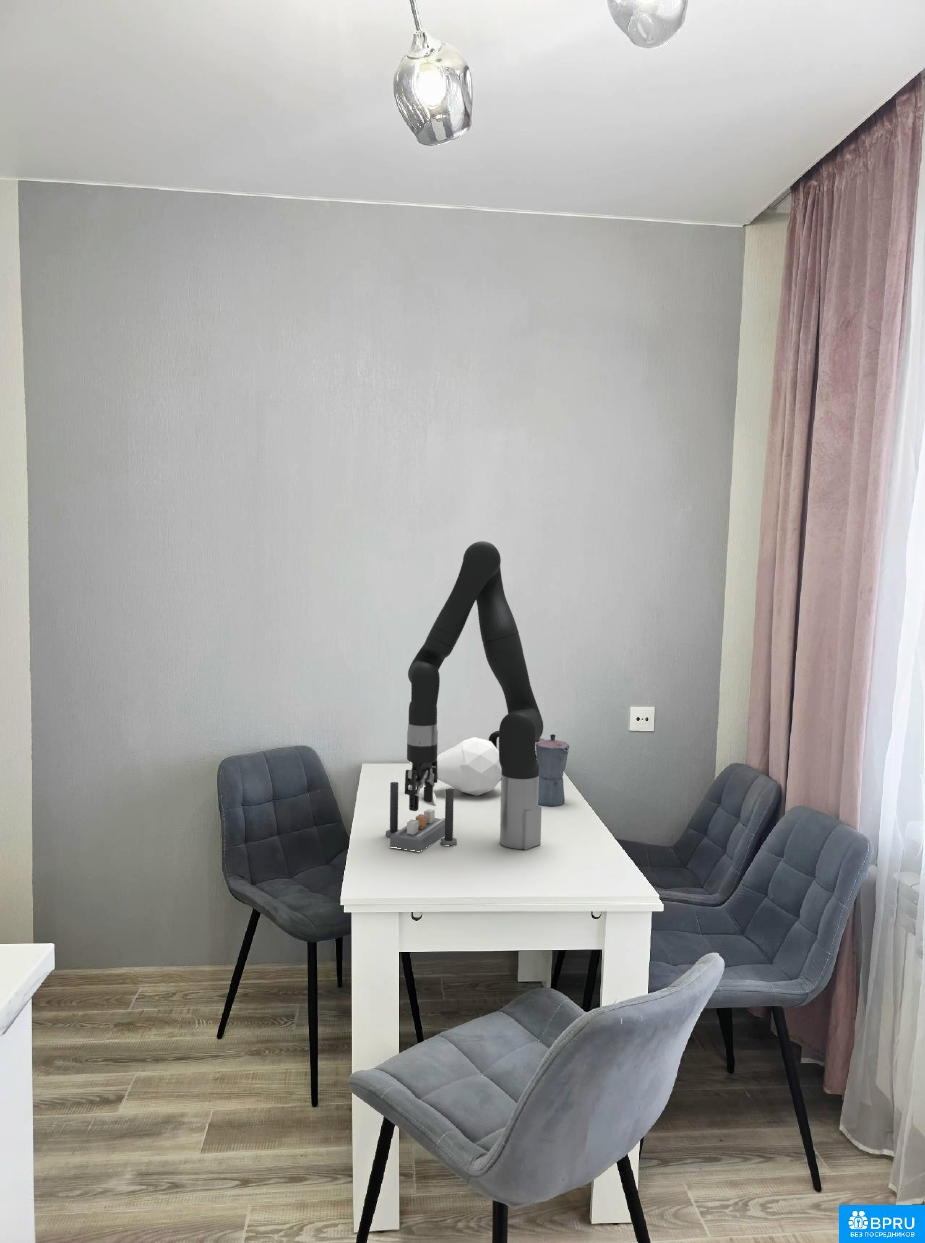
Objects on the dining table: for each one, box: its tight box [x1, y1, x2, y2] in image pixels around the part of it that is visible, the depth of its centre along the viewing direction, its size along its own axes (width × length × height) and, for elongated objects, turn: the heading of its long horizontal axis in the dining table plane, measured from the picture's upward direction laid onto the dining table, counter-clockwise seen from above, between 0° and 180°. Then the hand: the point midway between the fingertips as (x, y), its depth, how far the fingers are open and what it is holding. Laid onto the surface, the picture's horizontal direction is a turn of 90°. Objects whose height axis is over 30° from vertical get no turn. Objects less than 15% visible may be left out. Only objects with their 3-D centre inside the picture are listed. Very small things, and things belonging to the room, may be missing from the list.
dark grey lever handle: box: [385, 781, 400, 838], centre depth 227 cm, size 4×4×14 cm
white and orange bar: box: [406, 808, 436, 835], centre depth 224 cm, size 13×2×3 cm, turn 158°
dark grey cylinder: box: [440, 788, 458, 847], centre depth 221 cm, size 4×4×14 cm
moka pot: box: [535, 733, 570, 807], centre depth 259 cm, size 10×15×20 cm, turn 41°
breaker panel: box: [389, 817, 445, 853], centre depth 224 cm, size 18×8×4 cm, turn 158°
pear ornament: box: [409, 736, 501, 806], centre depth 264 cm, size 16×22×28 cm
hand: (421, 806), depth 224 cm, fingers open, 8 cm apart
